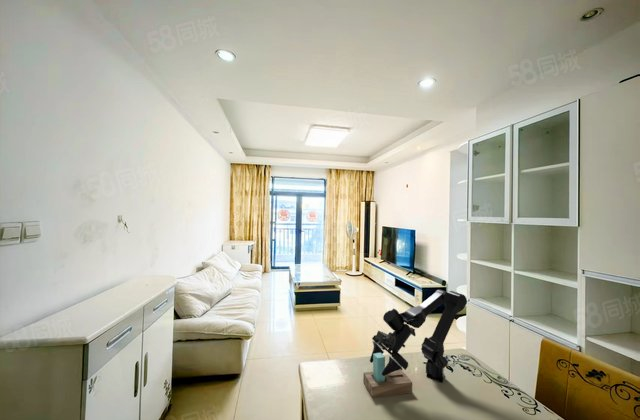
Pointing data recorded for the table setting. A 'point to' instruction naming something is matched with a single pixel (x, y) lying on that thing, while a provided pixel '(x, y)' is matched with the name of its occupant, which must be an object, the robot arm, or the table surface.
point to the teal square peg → (378, 367)
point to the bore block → (388, 384)
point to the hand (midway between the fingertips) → (376, 368)
